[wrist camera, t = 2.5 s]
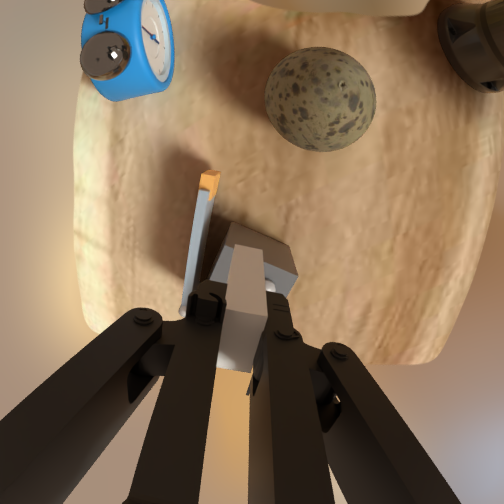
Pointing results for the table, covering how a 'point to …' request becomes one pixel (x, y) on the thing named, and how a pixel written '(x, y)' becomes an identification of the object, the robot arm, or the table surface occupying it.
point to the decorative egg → (320, 99)
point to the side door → (199, 234)
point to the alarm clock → (127, 47)
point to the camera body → (274, 258)
